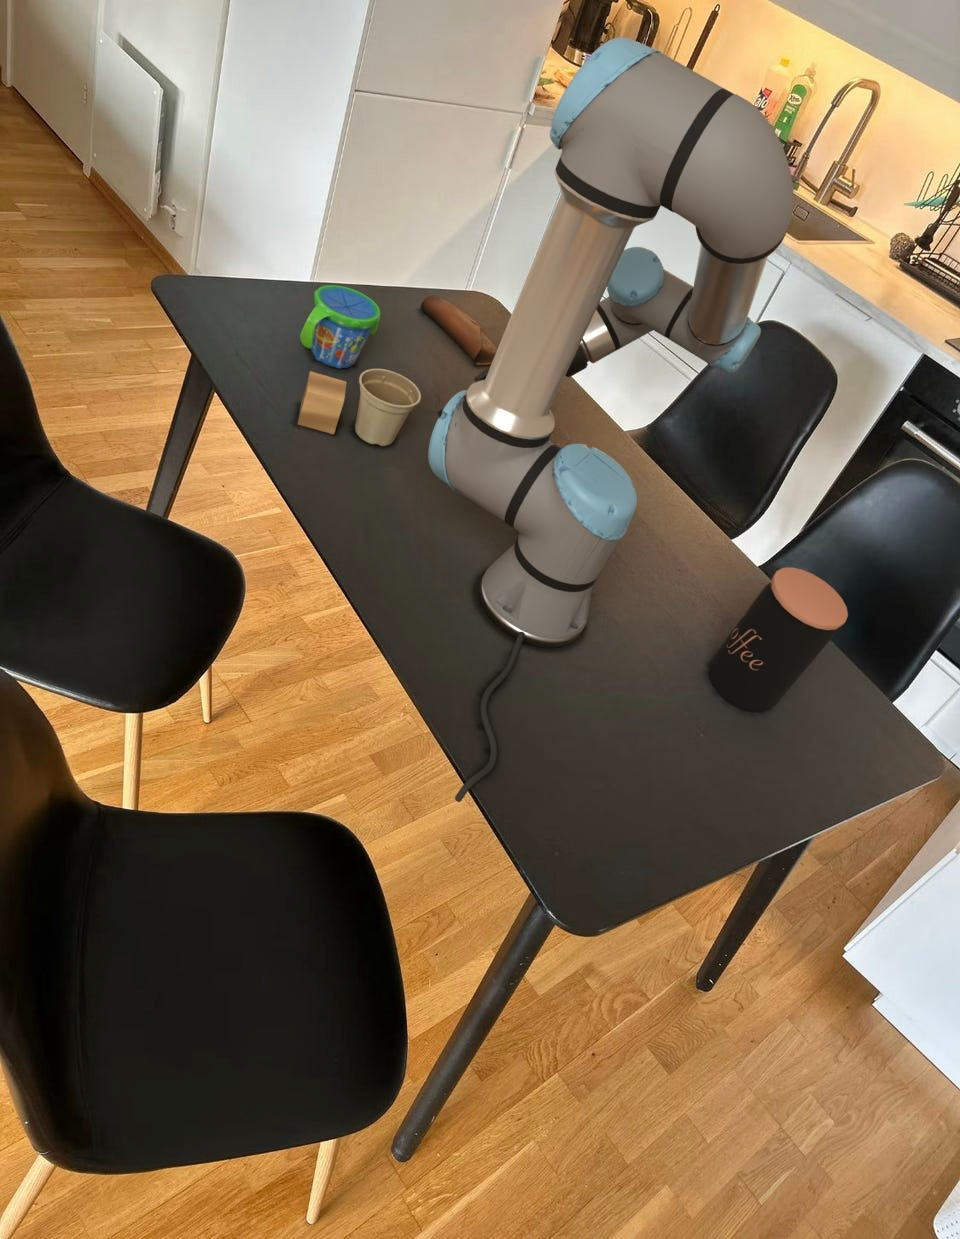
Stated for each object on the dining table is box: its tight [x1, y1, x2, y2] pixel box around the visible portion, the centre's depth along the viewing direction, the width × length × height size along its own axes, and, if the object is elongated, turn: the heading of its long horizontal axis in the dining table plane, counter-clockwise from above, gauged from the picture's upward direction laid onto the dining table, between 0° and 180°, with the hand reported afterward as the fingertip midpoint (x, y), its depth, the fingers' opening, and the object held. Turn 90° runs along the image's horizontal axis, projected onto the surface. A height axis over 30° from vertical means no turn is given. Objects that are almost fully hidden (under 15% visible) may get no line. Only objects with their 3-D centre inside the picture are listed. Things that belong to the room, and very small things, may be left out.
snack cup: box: [299, 284, 381, 370], centre depth 158 cm, size 16×10×10 cm
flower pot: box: [354, 368, 422, 447], centre depth 146 cm, size 9×9×9 cm
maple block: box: [297, 370, 347, 435], centre depth 145 cm, size 6×6×6 cm
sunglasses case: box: [420, 295, 498, 367], centre depth 181 cm, size 18×7×7 cm
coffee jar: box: [708, 566, 849, 713], centre depth 131 cm, size 11×11×18 cm
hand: (442, 420), depth 150 cm, fingers closed
